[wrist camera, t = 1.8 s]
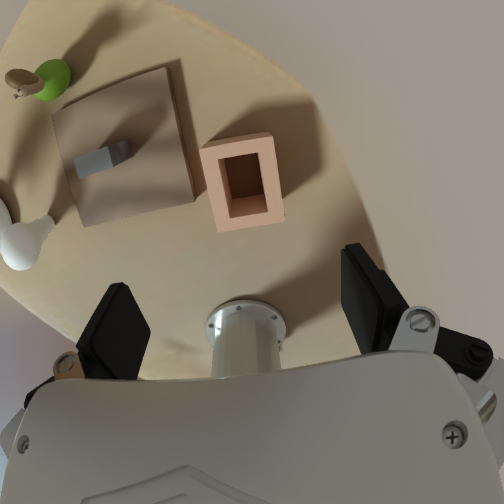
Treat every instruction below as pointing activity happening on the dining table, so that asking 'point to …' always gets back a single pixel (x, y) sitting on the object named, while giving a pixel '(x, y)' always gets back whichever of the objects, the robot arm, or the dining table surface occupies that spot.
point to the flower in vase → (4, 220)
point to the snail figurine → (40, 80)
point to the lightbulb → (25, 242)
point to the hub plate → (148, 145)
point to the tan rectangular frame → (224, 207)
